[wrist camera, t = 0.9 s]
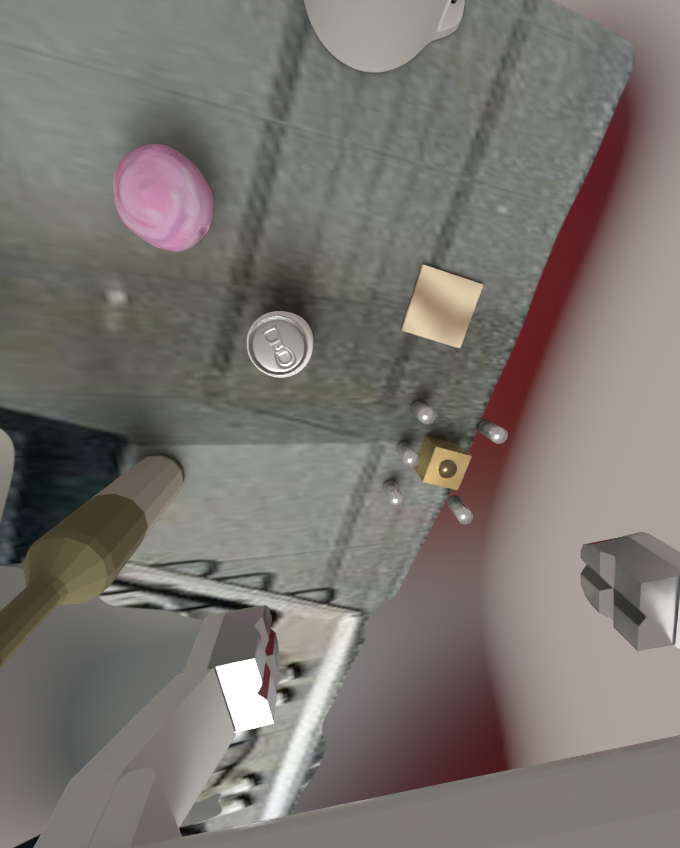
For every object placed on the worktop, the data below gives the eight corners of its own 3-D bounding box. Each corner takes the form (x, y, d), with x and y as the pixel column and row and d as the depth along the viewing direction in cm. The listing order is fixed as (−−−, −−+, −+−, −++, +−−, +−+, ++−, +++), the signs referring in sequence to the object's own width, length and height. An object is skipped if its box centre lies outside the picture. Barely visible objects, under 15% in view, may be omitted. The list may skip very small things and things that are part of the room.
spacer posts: (413, 398, 49) (422, 406, 45) (493, 421, 51) (510, 431, 46) (381, 490, 52) (387, 506, 48) (457, 508, 54) (469, 525, 50)
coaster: (421, 265, 44) (423, 264, 44) (481, 284, 45) (483, 284, 45) (400, 330, 46) (401, 330, 46) (458, 347, 47) (460, 348, 47)
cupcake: (134, 229, 41) (79, 202, 32) (168, 155, 40) (120, 103, 30) (206, 275, 43) (175, 262, 34) (241, 205, 41) (219, 171, 32)
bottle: (134, 492, 50) (-110, 727, 21) (136, 445, 48) (-126, 632, 20) (186, 500, 51) (19, 736, 22) (191, 454, 49) (16, 646, 20)
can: (278, 374, 47) (266, 392, 35) (251, 328, 45) (229, 332, 34) (322, 349, 46) (324, 360, 35) (296, 302, 45) (290, 297, 33)
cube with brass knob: (425, 435, 51) (436, 447, 46) (458, 444, 51) (472, 457, 47) (413, 468, 52) (423, 482, 47) (446, 476, 53) (458, 491, 48)
